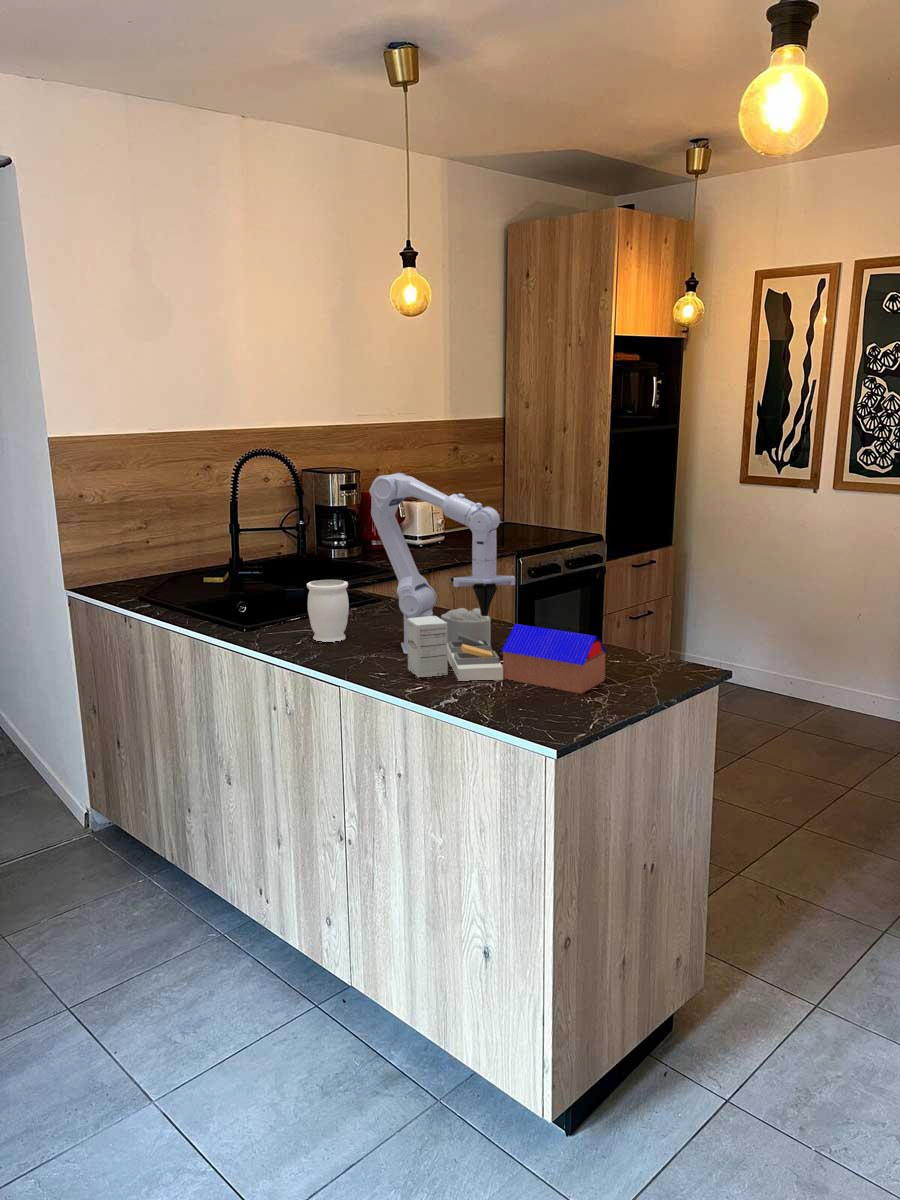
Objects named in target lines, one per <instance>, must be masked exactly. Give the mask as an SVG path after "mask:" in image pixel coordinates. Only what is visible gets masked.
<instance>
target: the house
mask: <svg viewBox="0 0 900 1200" xmlns="http://www.w3.org/2000/svg"><path fill="white" fill-rule="evenodd" d="M501 652H502V653H503V659H502V660H503V662H502V663H503V664H502V666H503V680H506V679H508V681H511V680H513V681H512V682H518V683H522V682H523V683H522V684H527V683H529V684H528V685H532V684H533V685H534V686H538V687H543V686H544V688H548V687H550V688H549V689H554V688H555V690H558V691H559V690H560V691H565V692H571V693H574V694H575V693H576V694H581V695H583V694H584V693H585V692H587V691H589V690H592V688H594V687H596V686H598V685H599V684H602V683H603V682H604V681H605V680H606V679H605V678H606V654H607V653H608V650H607V649H606V648H605V646H604V645H603V644H602V642H601V641H600V639H599V637H598V636H597V635H593V634H592V635H591V634H588V633H587V634H585V633H579V632H573V631H565V630H561V629H552V628H546V627H541V626H540V627H538V626H532V625H526V624H520V623H515V624H514V626H513V627H512V630H511V631H510V633H509V635H508V638H507V639H506V641H505V643H504V645H503V646H502V649H501Z"/></svg>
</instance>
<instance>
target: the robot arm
mask: <svg viewBox="0 0 900 1200" xmlns="http://www.w3.org/2000/svg"><path fill="white" fill-rule="evenodd" d="M368 493H369V494H370V497H371V498H370V499H371V503H370V504H371V506H370V507H371V508H370V515H371V516H370V517H371V518H372V521H373V523H374V525H375V528H376V530H377V533H378V536H379V538H380V540H381V542H382V545H383V547H384V549H385V552H386V554H387V557H388V560H389V561H390V564H391V567H392V569H393V571H394V574H395V576H396V578H397V581H398V585H397V588H396V594H397V595H398V607H399V610H400V612H401V613H402V614H403V642H400V645H401V648H402V651H403V654H405V655H408V631H407V619H408V618H416V617H426V616H434V613H433V608H435V606H436V604H437V601H438V597H437V593H436V590H435V589H434V588H432V587H431V585H430V584H429V583H428V580H427V578H425V576H423V575H421V574H420V572H419V570H418V567H417V566H416V564H415V563H416V562H415V561H414V558H413V556H412V553H411V551H410V548H409V545H408V543H407V541H406V539H405V537H404V534H403V532H402V529H401V526H400V524H399V522H398V519H397V517H396V513H397V511H398V508H399V506H400V505H401V503H402V502H403V501H404V500H405V499H406V498H411V497H413V498H416V499H418V500H421V501H423V502H425V503H428V504H431V505H432V506H435V507H438V508H440V509H441V510H442V512H443V515H444V516H445V517H447V518H449V519H451V520H453V521H455V522H458V523H459V524H462V525H464V526H466V527H468V528H469V530H470V531H471V533H472V542H471V543H472V544H471V547H472V549H471V550H472V551H471V555H472V556H471V557H472V560H471V561H472V562H471V564H472V565H471V566H472V567H471V569H472V571H471V574H472V575H469V576H460V577H453V587H454V588H459V587H472V590H473V592H474V594H475V597H476V600H477V603H478V607H479V609H480V612H481V615H482V616H489V612H490V611H489V610H490V607H491V603H492V601H493V598H494V596H495V595H496V593H497V586H515V585H516V577H515V576H514V575H497V543H498V542H497V528H498V527H499V525H500V523H501V518H500V517H501V516H500V514H499V512H498V511H497V510H496V509H495V508H493V507H492V506H484V507H483V504H482V503H481V502H473V501H472V500H469V499H468V498H465V494H463V493H458V494H457V493H453V494H451V495H447V494H445V493H443V492H441V491H439V490H438V489H436V488H434V487H432V486H430V485H428V484H426V483H425V482H422V481H421V480H418V479H417V478H415V477H413V476H410V475H406V474H405V473H402V472H396V473H393V474H386V475H385V474H383V475H378V476H376V478H375V479H374V480H373V481H372V483H371V486H370V488H369V490H368Z"/></svg>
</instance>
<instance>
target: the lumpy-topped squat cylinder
mask: <svg viewBox="0 0 900 1200" xmlns="http://www.w3.org/2000/svg"><path fill="white" fill-rule="evenodd" d="M440 619H442V620H443V621H445V622H447V643H448V641H461V640H458V639H457V638H456V636H455V635H456V633H457V632H459V633H462V634H464V635H467V636H469V637H472V638H475V639H477V640H488V642H489V643H490V645H491V644H492V643H491V638H492V637H491V635H492V633H491V632H492V631H491V630H492V629H491V628H492V627H491V626H492V624H491V622H492V621H491V620H492V619H491V617H490V616H489V615H488V616H482V615H481V612H480V607H475V608H473V609H472V610H468V609H467V608H464V607H460V608H457V609H451V610H448V611H447V612H445V613H443V614H441V616H440ZM491 646H492V645H491Z"/></svg>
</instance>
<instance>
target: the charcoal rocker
mask: <svg viewBox="0 0 900 1200" xmlns="http://www.w3.org/2000/svg"><path fill="white" fill-rule="evenodd" d="M455 636H456V638H457V639H458V640H461V641H463V642H466V643H468V644H471V645H474V646H486V645H485V644H484V642H482V641H480V640H477V639H475V638H472V637H469V636H467V635H464V634H462V633H459V632H457V633H456V635H455Z"/></svg>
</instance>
